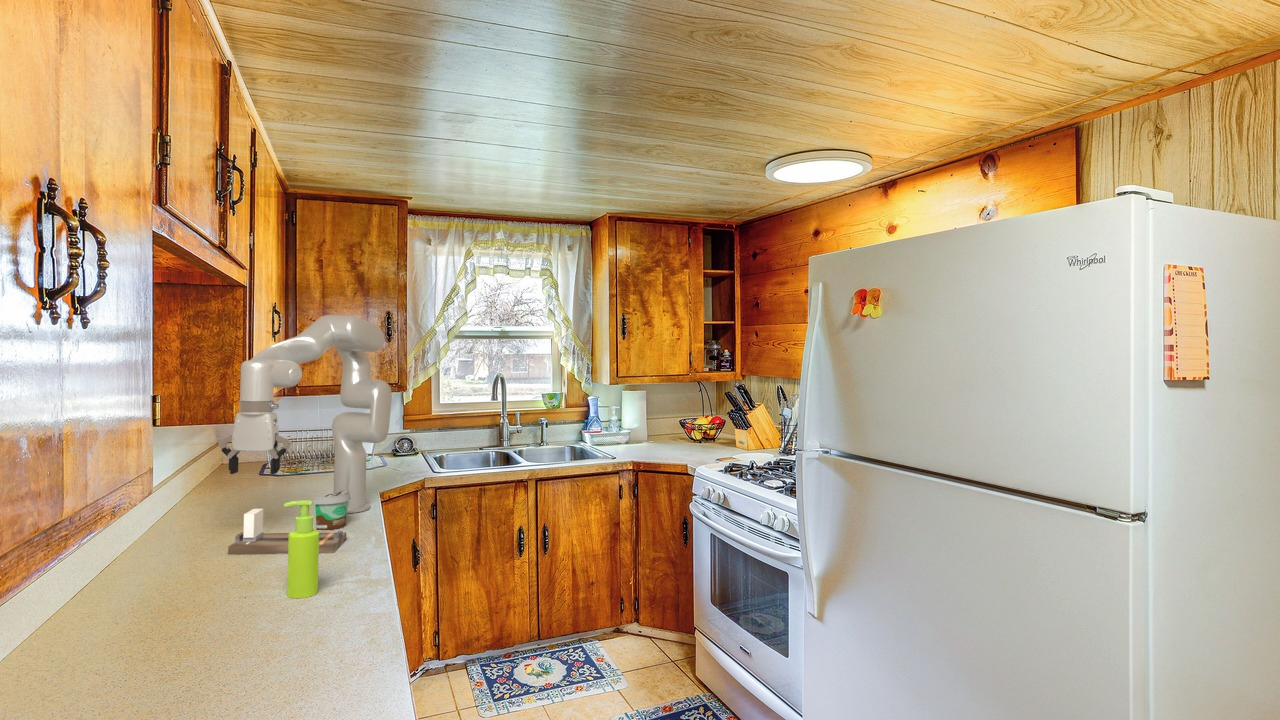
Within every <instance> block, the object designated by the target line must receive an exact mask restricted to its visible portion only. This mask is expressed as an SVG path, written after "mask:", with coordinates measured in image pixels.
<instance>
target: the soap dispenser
mask: <svg viewBox="0 0 1280 720" xmlns="http://www.w3.org/2000/svg"><path fill="white" fill-rule="evenodd" d="M312 505H313V500H310V499H309V500H308V499H307V500H300V499H299V500H298V499H297V500H292V501H289V502H285V503H283V507H285V508H287V507H288V508H289V507H293V506H300V509H299V510H300V511H299V514H298V516H296V517H295V527H294V528H295V529H294V531H291V532H288V533H289V540H288V554H287V577H286V578H287V583H286V588H287V589H286V596H287V597H288V598H290V599H294V598H299V599H305V598H306V597H307V598H310V596H311V597H313V596H316V595H317V593H319V592H318V591H319V590H318V588H319V558H320V557H319V554H320V553H319V533H320V531H317V530H316V529H314V515H312V514H310V506H312Z"/></svg>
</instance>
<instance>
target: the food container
mask: <svg viewBox="0 0 1280 720" xmlns="http://www.w3.org/2000/svg"><path fill="white" fill-rule="evenodd" d="M350 499H351V497H350V493H349V491H348V490H345V489H340V492H338V493H335V494H334V493H329V494H326V495H324V496H315V497H314V500H313V504H314V505H315V527H316V528H315V530H330V531H336V530H335V529H337V530H340V528H341V529H343V528H345V527H346V524H347V523H346V522H347V516H348V515H347V514H348V513H347V507H348V500H350ZM344 526H345V527H344ZM342 527H343V528H342Z"/></svg>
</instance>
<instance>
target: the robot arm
mask: <svg viewBox="0 0 1280 720" xmlns="http://www.w3.org/2000/svg"><path fill="white" fill-rule="evenodd" d="M385 339H386V337H385V334H384V332H383V330H382V329H381V327H379V326H378V325H376V324H374V323H373V322H371V321H368V320H366V319H364V318H361V317H359V316H356V315H352V314H351V315H349V314H348V315H347V314H326V315H325V314H324V315H322V316H320V317H319V318H318V319H316V320H315V321H313V323H311V324H310V325H309V326H308V327H306V328H305V329H304V330H303V331H301V333H299V334H297V335H296V336H293V337H290V338H288V339H284V340H282V341H280V342H277V343H274V344H273V345H270V346H267V347H265V348H263V349H262V350H260V351H259V352H258V353H256V354H255V355H254V356H253V357H252V358H251V359H249V360H245V361H243V362H242V363H241V365H240V384H239V385H240V386H239V388H240V389H239V412H236V414H235V415H236V416H235V419H234V422H233V428H232V434H231V435H229V436H227V437H225V438H222V439H220V440H218V441H217V444H218V446H219V448H220V449H221V452H222V453H223V454H224V455H225V456H226V458H227V459H228V471H229V474H230V475H234V474H237V473H239V457H238V454H240V452H246V453H247V452H249V453H250V452H255V453H257V452H260V453H263V452H264V453H265V452H268V453H269V455H270V456H271V457H272V458H271V459H270V475H275V474H277V473H278V472H279V471H280V467H281V457H282V456H284V455H285V454H286V453H287V452H288V450H289V449H290V447H291V445H292V444H293V443H292V441H291V440H289V439H287V438H285V437H283V436H281V435H280V433H279V432H280V431H279V430H280V427H279V421H278V415H277V412H273V411H274V410H278V409H279V407H280V405H279V403H275V401H274V388H280V389H281V388H284V389H285V388H286V389H287V388H292V387H295V386H296V385H298V384H299V383H300V382H301V380H302V377H303V369H302V367H301V366H300V365H301V364H305V363H309V362H313V361H316V360H318V359H320V358H321V356H323V355H324V354H325V353H326V352H327V351H329V350H330V349H331V348H332V347H333V348H334V349H335V350H336V352H337V353H338V355H339V357H340V359H341V362H342V363H341V364H342V375H341V385H340V395H339V396H340V402H341V405H343V406H344V407H347V408H353V409H367V410H368V409H369V411H370V412H357V411H356V412H355V411H345V412H341V413H339V414H337V415H336V416H334V418H333V419H332V423H331V431H332V432H331V433H332V437H333V438H332V439H333V445H334V447H333V448H334V461H333V462H334V464H333V465H334V466H333V467H334V468H333V494H335V493H338V492H340V489H345V490H348V491H349V493H350V497H351V499H350V500H348V507H347V514H355V513H361V512H365V511H368V510H370V508H371V504H370V503H369V502H367V501H366V486H367V484H366V483H367V482H366V481H367V451H366V449H365V447H364V445H363V444H362V443H368V444H369V443H370V444H379V443H382V442H384V441H385V440H386V439H387V436H388V434H389V431H390V422H391V420H390V419H391V412H392V396H393V395H392V389H391V387H390V385H389V384H388V382H387V381H385V380H380V379H371V367H372V366H371V361H370V359H369V357H368V354H366V353H365V352H368V353H369V352H370V353H374V352H378V351H379V350H381V349H382V348H383V346H384V344H385ZM230 442H231V448H230V447H229V446H228V443H230ZM280 444H282V447H281V449H280V450H279V449H278V448H279V446H280Z"/></svg>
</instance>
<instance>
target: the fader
mask: <svg viewBox="0 0 1280 720" xmlns="http://www.w3.org/2000/svg"><path fill="white" fill-rule="evenodd" d="M263 526H264V508H253V509H251V510H249V511H247V512H246V513H244V514H243V532H244V534H243V542H256V541H257V540H258V539H260V538H261V537H263V533H264V531H263V529H264V527H263Z"/></svg>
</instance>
